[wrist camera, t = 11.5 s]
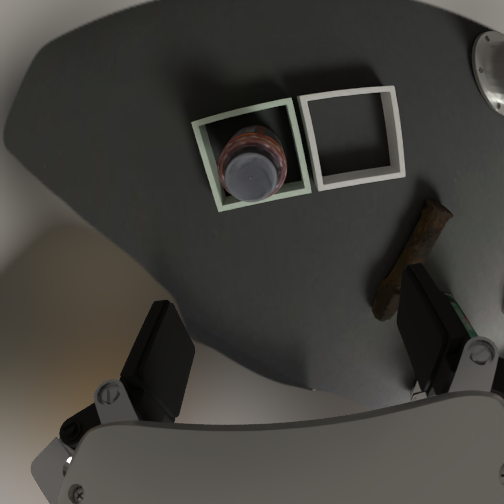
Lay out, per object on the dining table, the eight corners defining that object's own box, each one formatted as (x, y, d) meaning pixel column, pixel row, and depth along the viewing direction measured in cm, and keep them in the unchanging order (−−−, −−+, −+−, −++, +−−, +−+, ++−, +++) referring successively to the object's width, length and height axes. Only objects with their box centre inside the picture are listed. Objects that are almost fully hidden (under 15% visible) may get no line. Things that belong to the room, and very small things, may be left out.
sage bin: (289, 97, 28) (291, 97, 25) (307, 184, 33) (311, 192, 30) (197, 120, 29) (191, 122, 27) (222, 202, 34) (218, 212, 32)
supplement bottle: (217, 154, 31) (194, 182, 22) (251, 113, 29) (244, 121, 19) (258, 186, 33) (254, 228, 23) (293, 148, 31) (306, 174, 21)
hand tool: (423, 192, 32) (440, 205, 28) (443, 204, 33) (460, 218, 29) (357, 303, 42) (364, 324, 38) (377, 309, 42) (385, 329, 38)
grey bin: (383, 86, 26) (394, 85, 23) (395, 169, 31) (405, 176, 28) (296, 96, 28) (299, 96, 25) (314, 183, 33) (318, 191, 30)
